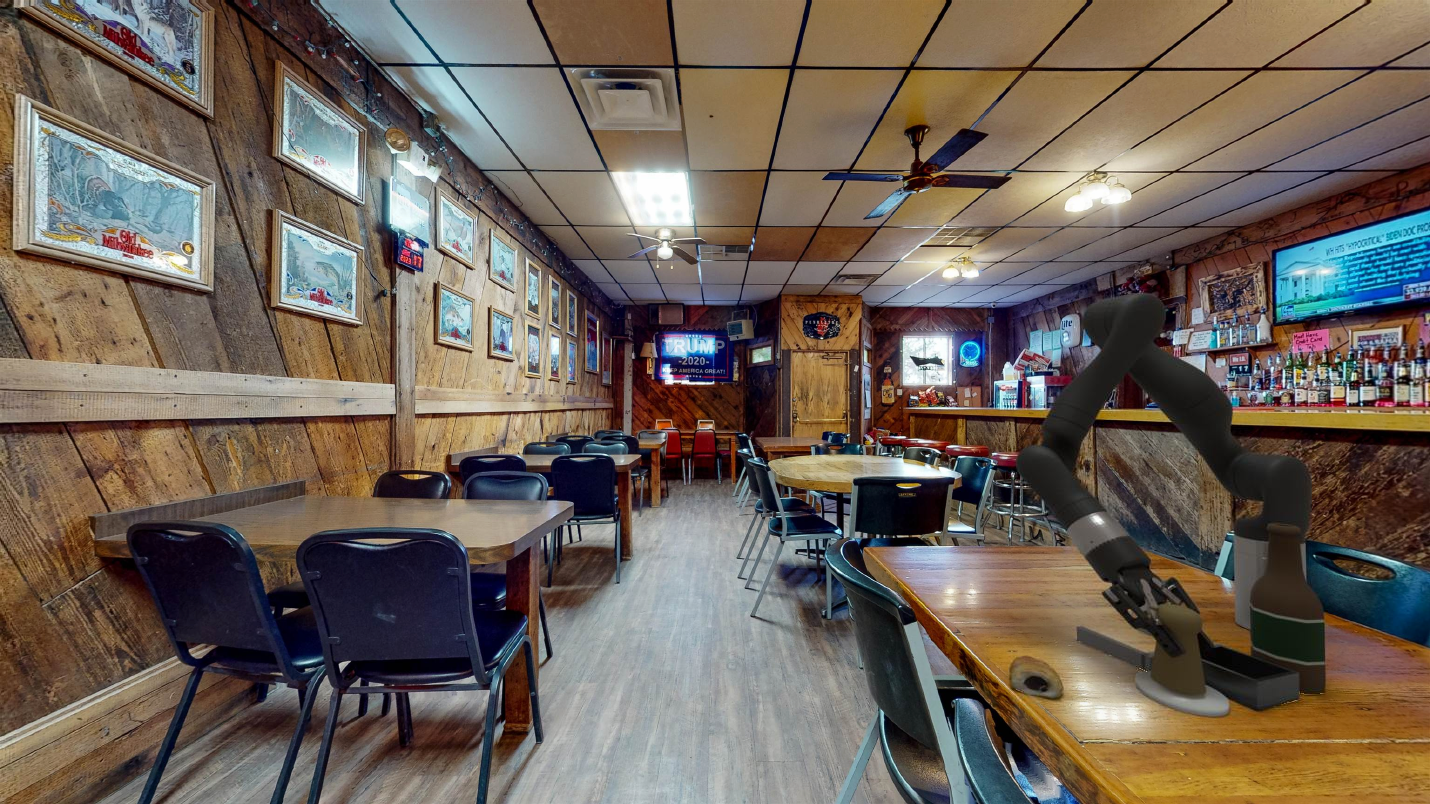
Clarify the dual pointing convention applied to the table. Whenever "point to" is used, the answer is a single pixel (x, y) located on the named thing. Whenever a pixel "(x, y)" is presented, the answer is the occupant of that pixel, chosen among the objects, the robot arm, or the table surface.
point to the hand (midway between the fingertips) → (1193, 652)
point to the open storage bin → (1249, 678)
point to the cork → (1187, 667)
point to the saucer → (1183, 698)
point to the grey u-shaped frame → (1117, 648)
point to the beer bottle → (1288, 613)
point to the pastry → (1035, 677)
